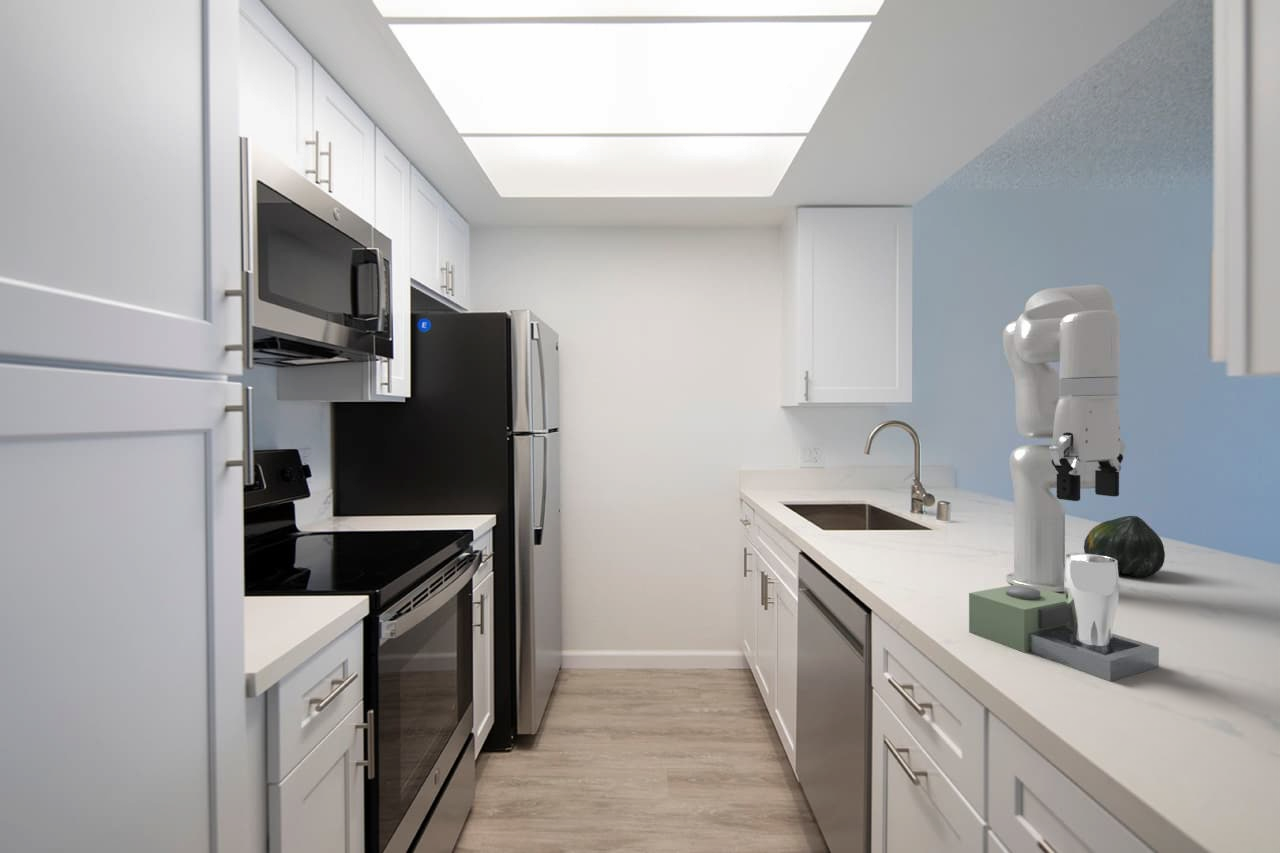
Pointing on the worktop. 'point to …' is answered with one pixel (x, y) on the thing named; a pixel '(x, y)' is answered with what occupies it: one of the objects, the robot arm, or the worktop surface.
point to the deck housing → (1015, 613)
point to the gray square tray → (1094, 654)
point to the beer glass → (1091, 600)
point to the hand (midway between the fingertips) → (1087, 497)
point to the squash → (1127, 545)
